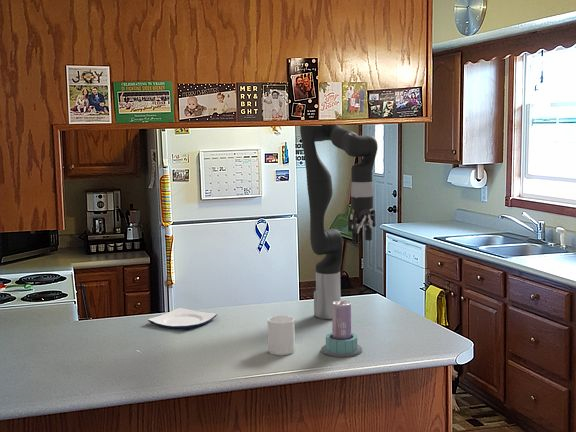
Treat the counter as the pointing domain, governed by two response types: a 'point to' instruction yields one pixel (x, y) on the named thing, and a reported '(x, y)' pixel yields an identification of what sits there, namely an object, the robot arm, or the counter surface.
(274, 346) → the mug
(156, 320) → the plate
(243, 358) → the counter surface
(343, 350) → the holder
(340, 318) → the beverage can
